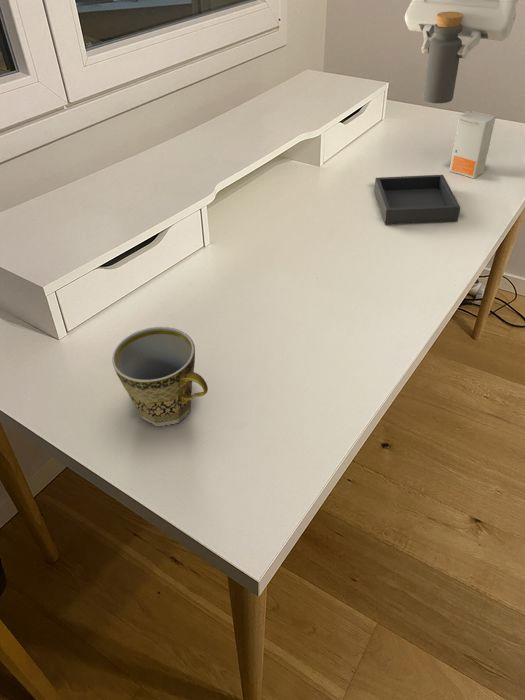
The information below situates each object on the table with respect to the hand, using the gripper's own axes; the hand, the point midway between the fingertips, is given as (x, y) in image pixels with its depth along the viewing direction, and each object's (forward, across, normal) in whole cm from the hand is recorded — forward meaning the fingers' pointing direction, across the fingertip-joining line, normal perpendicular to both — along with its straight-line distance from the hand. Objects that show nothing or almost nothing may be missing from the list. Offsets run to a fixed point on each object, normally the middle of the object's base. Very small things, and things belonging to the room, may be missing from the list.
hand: (443, 54), depth 111 cm
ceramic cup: (+75, +2, -42) cm, 86 cm away
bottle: (+6, 0, +6) cm, 9 cm away
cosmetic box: (+14, +8, +19) cm, 25 cm away
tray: (+28, +5, +5) cm, 29 cm away
